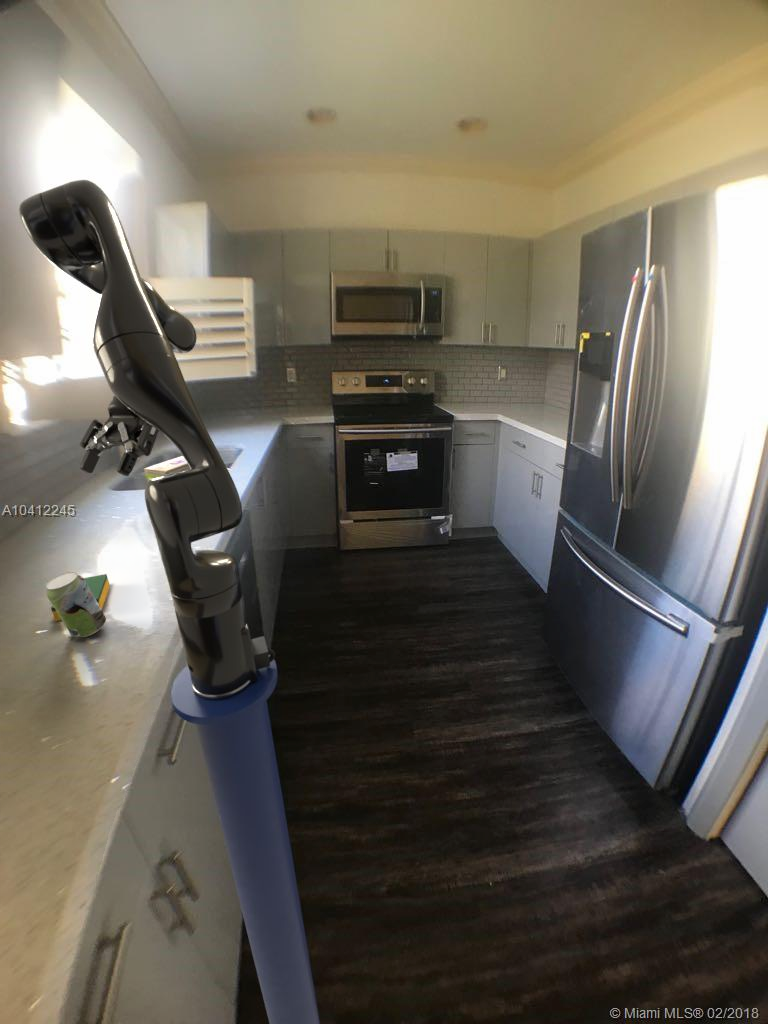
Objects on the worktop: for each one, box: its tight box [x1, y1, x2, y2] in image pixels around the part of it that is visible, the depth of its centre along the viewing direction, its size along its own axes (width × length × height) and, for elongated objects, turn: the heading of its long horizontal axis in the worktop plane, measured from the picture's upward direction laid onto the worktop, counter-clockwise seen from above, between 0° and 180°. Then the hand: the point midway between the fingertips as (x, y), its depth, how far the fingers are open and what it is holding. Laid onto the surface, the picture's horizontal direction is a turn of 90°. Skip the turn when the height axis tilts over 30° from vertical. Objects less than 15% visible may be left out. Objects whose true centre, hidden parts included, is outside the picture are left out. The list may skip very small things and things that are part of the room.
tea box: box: [143, 455, 191, 484], centre depth 144 cm, size 15×10×15 cm, turn 154°
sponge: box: [50, 573, 111, 622], centre depth 95 cm, size 8×11×3 cm
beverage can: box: [45, 571, 107, 638], centre depth 84 cm, size 6×7×12 cm
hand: (103, 472), depth 82 cm, fingers open, 8 cm apart
